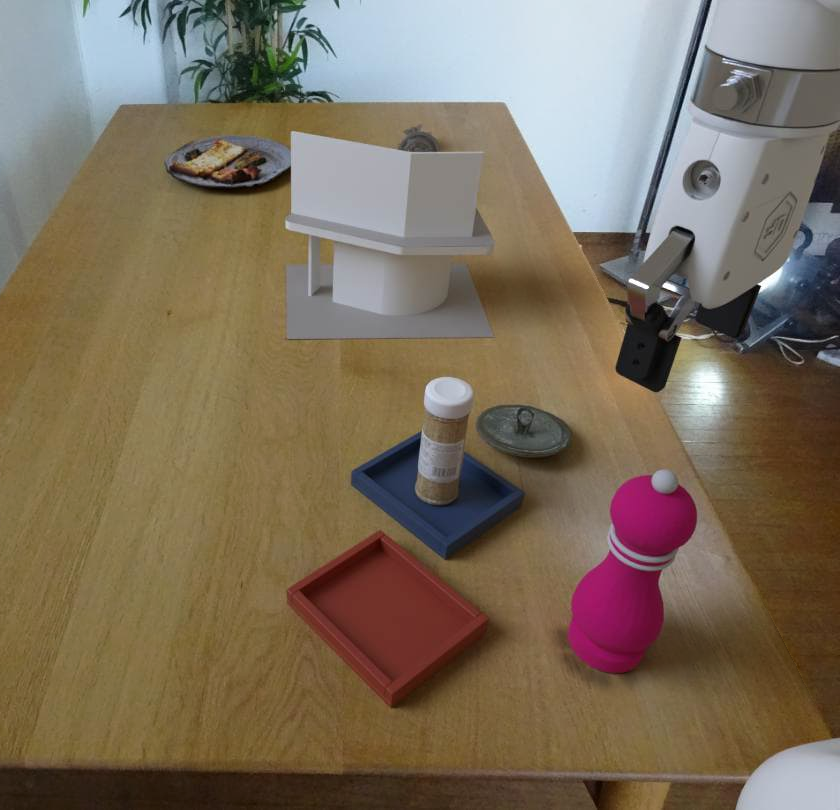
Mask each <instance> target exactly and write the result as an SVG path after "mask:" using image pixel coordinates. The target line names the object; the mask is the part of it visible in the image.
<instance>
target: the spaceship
mask: <svg viewBox="0 0 840 810" xmlns="http://www.w3.org/2000/svg"><path fill="white" fill-rule="evenodd" d="M421 128H422V123H421V124H417V125H416V126H411V127H410V128H408V129H405V130H403V131H402V133H403V134H404V135H406V136H404V137H403V138H402V140H401V141H400V143H398V147H397V150H402V151H408V152H441V149H440V144H439V142H438V141H437V140H438V139H436V137H434V135H433V133H432V131H428V132H426V131H421Z"/></svg>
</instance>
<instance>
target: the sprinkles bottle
mask: <svg viewBox="0 0 840 810" xmlns="http://www.w3.org/2000/svg"><path fill="white" fill-rule="evenodd" d="M474 393H475V392H474V389H473V388H472V386H471V385H470V384H469V383H468V382H466V381H464V380H463V379H460V378H457V377H453V376H442V377H437V378H435V379H432V380H431V381H430V382H429V383H427V384H426V387H425V390H424V397H423V405H424V414H423V422H422V423H423V424H422V429H421V431H422V436H421V444H420V453H419V461H418V475H417V482H416V485H415V492H416V494H417V496H418V497H419V498H420V499H421V500H423V501H424V502H426V503H428V504H431V505H446V504H449V503H451V502H453V501H454V500H455V499H456V498H457V496H458V484H459V477H460V472H461V469H462V463H463V457H464V451H465V450H466V448H465V446H466V440H467V431H468V424H469V418H470V414H471V412H472V409H473V406H474V405H473V404H474V396H475V394H474Z"/></svg>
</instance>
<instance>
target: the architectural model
mask: <svg viewBox="0 0 840 810" xmlns="http://www.w3.org/2000/svg"><path fill="white" fill-rule="evenodd" d="M290 150H291V165H290V188H291V189H290V201H291V202H290V204H291V205H290V210H291V212H290V213H289V214H288V215H287V216H286V217H285V228H286V230H288V231H291V232H295V233H301V234H305V235H308V256H307V257H308V262H307V263H308V264H307V263H306V264H305V263H304V264H303V263H302V264H286V265H285V268H286V269H285V271H286V272H285V278H286V279H285V283H286V285H285V288H286V291H285V292H286V296H285V297H286V300H285V302H286V303H285V304H286V305H285V306H286V309H285V310H286V311H285V312H286V315H285V316H286V319H285V321H286V340H335V339H336V340H337V339H338V340H339V339H340V340H342V339H343V340H345V339H346V340H347V339H447V338H448V339H449V338H450V339H451V338H453V339H454V338H458V339H460V338H462V339H463V338H464V339H465V338H495V335H494V332H493V330H492V327H491V325H490V322H489V320H488V317H487V315H486V311H485V309H484V307H483V304H482V301H481V298H480V296H479V292H478V290H477V288H476V285H475V282H474V280H473V278H472V274H471V272H470V269H469V267H468V264H467V263H466V262H457V263H456V262H453V256H454V255H455V256H457V255H458V256H461V255H462V256H465V255H467V256H468V255H469V256H470V255H471V256H472V255H473V256H475V255H480V256H481V255H482V256H483V255H490V254H493V253H494V250H495V245H496V241H495V238H494V237H493V235H492V233H491V231H490V230H489V227H488V225H487V224H486V222H485V220H484V219H483V217H482V214H481V213H480V212H479V209H478V208H477V204H478V203H477V202H478V196H479V189H480V182H481V175H482V167H483V161H484V155H485V152H484V151H440V152H430V151H426V152H409V150H408V151H402V150H398V148H397V149H396V148H391V147H390V148H389V147H386V146H379V145H375V144H368V143H363V142H359V141H351V140H345V139H342V138H341V139H340V138H335V137H329V136H323V135H319V134H312V133H307V132H300V131H295V130H292V131H291V132H290ZM322 238H323V239H327V240H331V241H333V263H321V248H322V247H321V245H322Z"/></svg>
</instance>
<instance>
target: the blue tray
mask: <svg viewBox="0 0 840 810" xmlns="http://www.w3.org/2000/svg"><path fill="white" fill-rule="evenodd" d="M421 436H422V430H421V431H418V432H417V433H415V434H413V435H412V436H410V437H408V438H406V439H404V440H403V441H401V442H400V443H398V444H396V445H394V446H393V447H391V448H389V449H387V450H385V451H383V452H382V453H380V454H379V455H377V456H375V457H373V458H372V459H370V460H368V461H366V462H364V463H363V464H361V465H359V466H358V467H356V468H354V469H352V470H351V471H350V472H351V473H350V485H351V486H352V487H353V488H354V489H356V490H357V491H358V492H359V493H360V494H362V496H364V497H366V499H368V500H369V501H370V502H372V503H373V504H374V505H375V506H377V507H378V508H379V509H381V510H382V511H383V512H384V513H386V515H388V516H389V517H390V518H392V519H393V520H394V521H395V522H397V523H398V524H399V525H400V526H402V527H403V528H404V529H405V530H407V531H408V532H409V533H411V534H412V535H413V536H414V537H415V538H417V539H418V540H419V541H421V542H422V543H423V544H425V545H426V546H427V547H428V548H429V549H430V550H432V551H433V552H434V553H435V554H437V555H438V556H440V558H442V559H443V560H447V559H449V558H450V557H451V556H453V555H454V554H456V553H457V552H459V551H460V550H461V549H463V548H464V547H466V546H467V545H469V544H470V543H471V542H473V541H474V540H476V539H478V537H480V536H481V535H483V534H484V533H486V532H487V531H489V530H490V529H492V528H493V527H495V526H496V525H497V524H498V523H500V522H501V521H503V520H504V519H506V518H507V517H508V516H510V515H512V514H513V513H514V512H515V511H517V510H518V509H520V508H522V507H523V505H524V504H523V503H524V500H525V495H526V491H524V490H523V489H521V488H520V487H518V486H517V485H515V484H514V483H512V482H510V481H509V480H507V478H505V477H504V476H502V475H500V474H499V473H498V472H496V471H494V470H492V468H490V467H488V466H487V465H485V464H484V463H482V462H481V461H479V460H478V459H477V458H475V457H474V456H472V455H471V454H469V453H468V452H466V451H465V450H464V457H463V463H462V469H461V472H460V477H459V484H458V496H457V498H456V499H455V500H454V501H453V502H451V503H449V504H446V505H431V504H428V503H426V502H424V501H423V500H421V499H420V498H419V497H418V496H417V494H416V492H415V485H416V482H417V475H418V461H419V453H420V444H421Z"/></svg>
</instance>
